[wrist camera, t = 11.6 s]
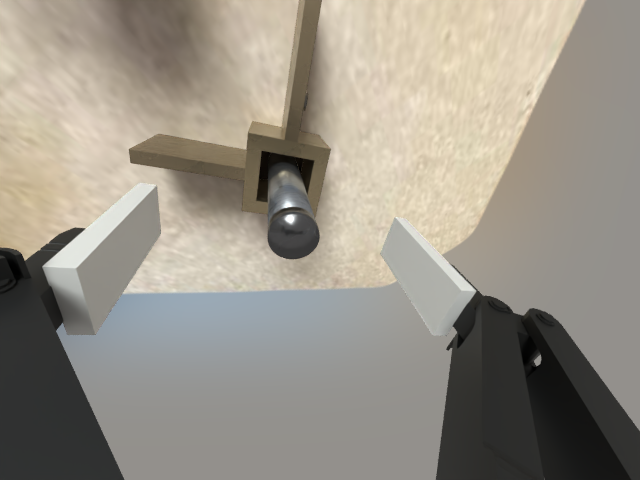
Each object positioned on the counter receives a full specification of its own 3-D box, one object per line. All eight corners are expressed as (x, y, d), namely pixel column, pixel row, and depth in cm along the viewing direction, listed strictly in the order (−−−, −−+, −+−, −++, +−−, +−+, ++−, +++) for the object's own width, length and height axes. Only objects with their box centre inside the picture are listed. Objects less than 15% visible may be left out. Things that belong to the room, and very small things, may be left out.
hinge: (161, 173, 26) (135, 197, 21) (143, -64, 18) (93, -120, 13) (306, 195, 29) (314, 220, 24) (345, 5, 21) (369, -16, 16)
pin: (266, 173, 27) (264, 256, 15) (269, 145, 26) (271, 211, 13) (293, 177, 28) (313, 261, 15) (298, 150, 27) (324, 218, 14)
